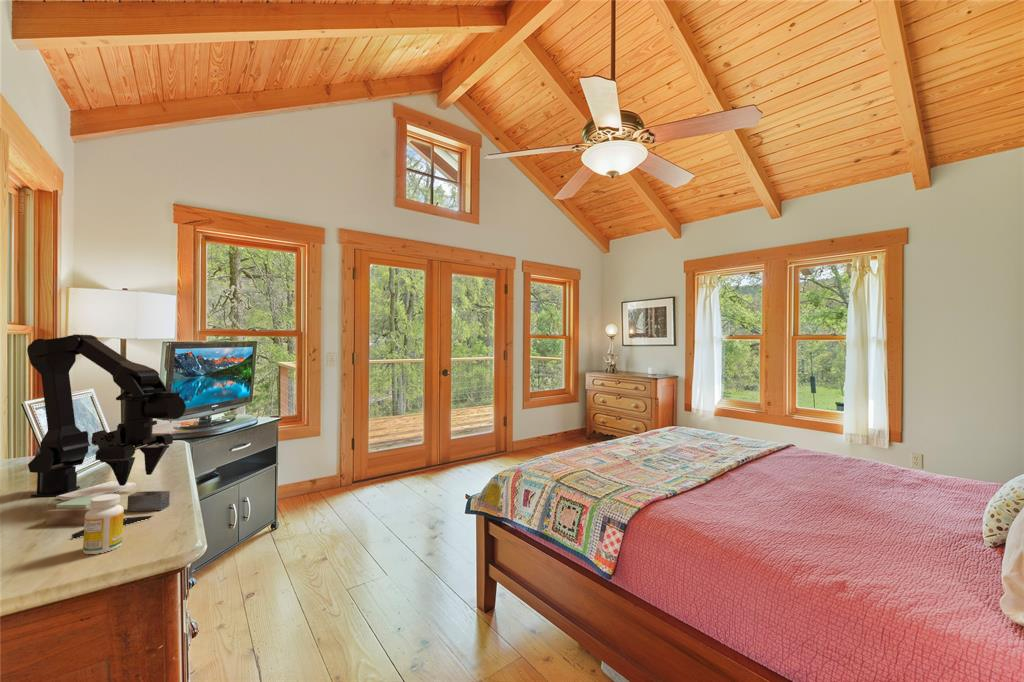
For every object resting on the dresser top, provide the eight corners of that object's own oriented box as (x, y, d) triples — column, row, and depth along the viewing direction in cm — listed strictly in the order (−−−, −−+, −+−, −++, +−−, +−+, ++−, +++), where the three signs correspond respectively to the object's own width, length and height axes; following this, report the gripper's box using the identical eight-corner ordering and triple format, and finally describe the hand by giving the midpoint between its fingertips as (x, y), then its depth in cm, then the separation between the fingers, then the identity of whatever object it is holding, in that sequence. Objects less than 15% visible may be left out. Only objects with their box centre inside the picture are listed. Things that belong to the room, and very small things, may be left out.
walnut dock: (46, 525, 91) (47, 511, 91) (67, 516, 96) (68, 502, 96) (96, 523, 93) (97, 509, 93) (115, 514, 98) (115, 501, 98)
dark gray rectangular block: (127, 511, 100) (127, 495, 100) (136, 506, 103) (137, 491, 103) (160, 510, 101) (161, 495, 101) (169, 505, 103) (169, 490, 104)
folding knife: (153, 519, 96) (153, 510, 97) (155, 520, 96) (155, 511, 96) (71, 540, 86) (71, 530, 86) (72, 542, 85) (73, 531, 85)
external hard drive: (135, 488, 117) (82, 504, 105) (111, 486, 119) (55, 501, 107) (135, 482, 117) (82, 497, 105) (111, 480, 119) (56, 495, 107)
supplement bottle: (84, 558, 78) (86, 504, 78) (81, 549, 81) (83, 497, 81) (124, 548, 82) (126, 496, 82) (119, 539, 85) (121, 490, 85)
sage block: (55, 523, 93) (56, 504, 93) (81, 513, 99) (81, 495, 99) (85, 523, 93) (86, 504, 93) (109, 513, 99) (109, 495, 99)
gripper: (130, 412, 119) (128, 470, 118) (70, 424, 100) (68, 492, 100) (175, 412, 120) (173, 469, 120) (124, 424, 102) (121, 491, 101)
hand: (136, 479), depth 110 cm, fingers open, 9 cm apart
